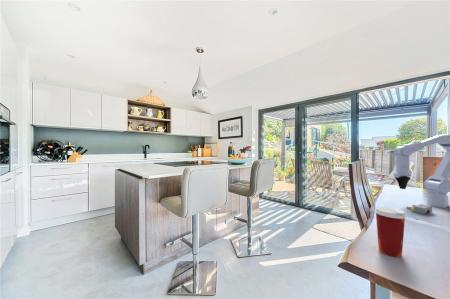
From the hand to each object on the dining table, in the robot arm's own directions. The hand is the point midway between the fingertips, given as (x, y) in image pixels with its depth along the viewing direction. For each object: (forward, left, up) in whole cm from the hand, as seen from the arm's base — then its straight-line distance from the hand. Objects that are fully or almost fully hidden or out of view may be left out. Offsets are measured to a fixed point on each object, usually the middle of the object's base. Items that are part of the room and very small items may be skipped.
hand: (402, 188), depth 108 cm
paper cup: (+67, +25, -11) cm, 72 cm away
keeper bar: (+4, +7, -10) cm, 12 cm away
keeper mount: (0, +7, -10) cm, 12 cm away
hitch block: (+9, +12, -10) cm, 18 cm away
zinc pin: (+9, +12, -11) cm, 18 cm away
